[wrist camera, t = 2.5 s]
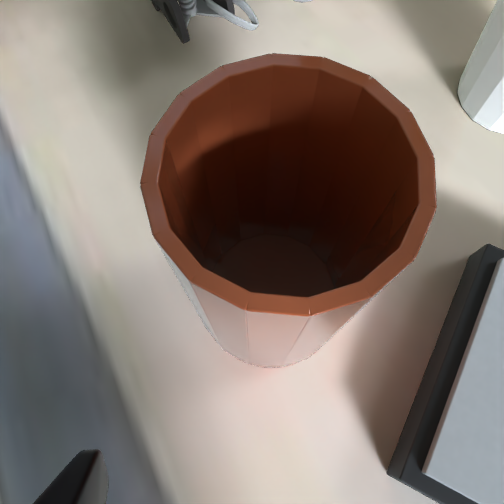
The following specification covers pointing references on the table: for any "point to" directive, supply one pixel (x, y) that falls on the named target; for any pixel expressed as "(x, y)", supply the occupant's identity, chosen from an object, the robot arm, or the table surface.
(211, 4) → the clip-on lamp
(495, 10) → the white cylinder
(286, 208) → the cup
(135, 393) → the table surface
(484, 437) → the scale
